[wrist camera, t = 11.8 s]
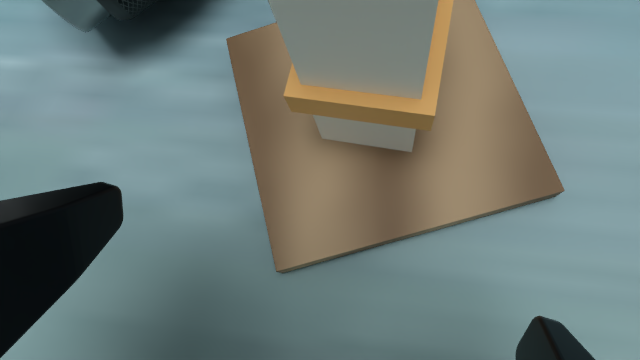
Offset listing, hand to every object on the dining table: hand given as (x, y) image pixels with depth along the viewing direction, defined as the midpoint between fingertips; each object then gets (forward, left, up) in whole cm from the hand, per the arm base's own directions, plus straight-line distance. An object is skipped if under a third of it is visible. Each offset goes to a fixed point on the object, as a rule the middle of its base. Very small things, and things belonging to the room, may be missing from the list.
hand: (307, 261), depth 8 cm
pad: (+3, +7, -9) cm, 12 cm away
